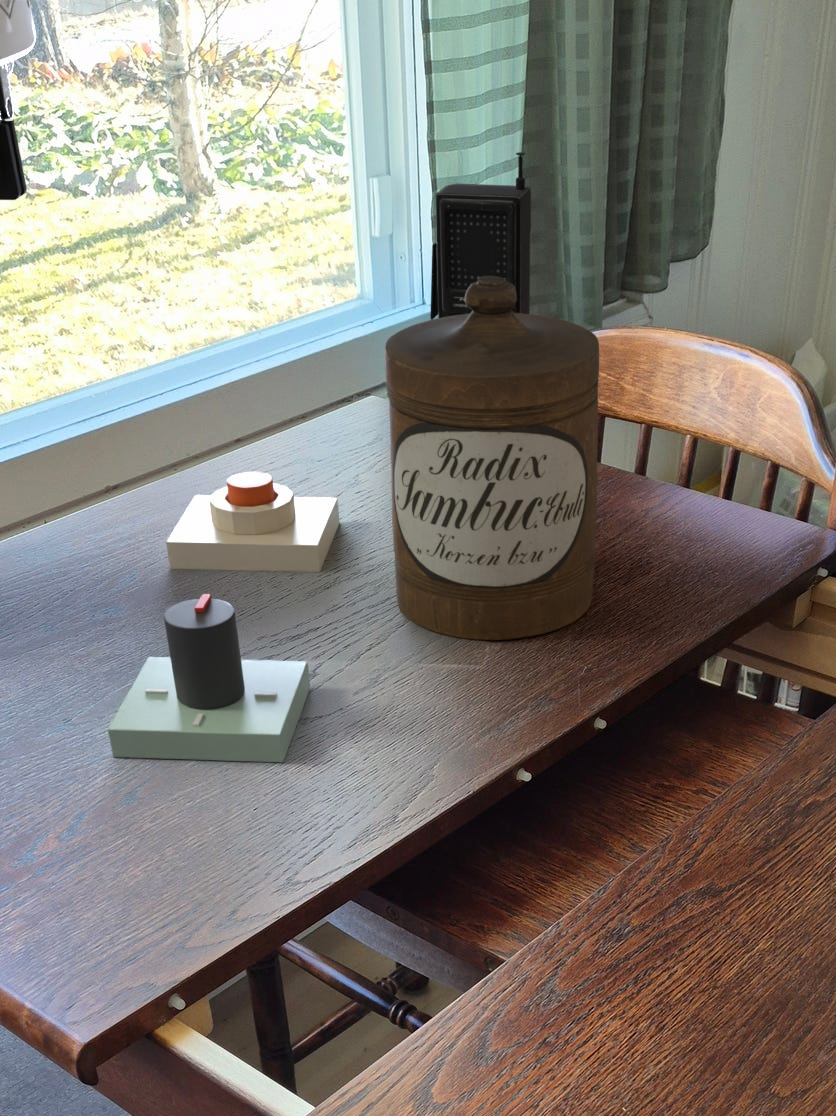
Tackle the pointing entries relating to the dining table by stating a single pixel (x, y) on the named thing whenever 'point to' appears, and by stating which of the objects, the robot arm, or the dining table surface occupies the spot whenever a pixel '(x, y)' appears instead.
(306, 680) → the panel
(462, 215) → the portable radio
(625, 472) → the dining table surface
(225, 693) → the dial
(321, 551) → the block
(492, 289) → the wooden container
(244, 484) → the button
